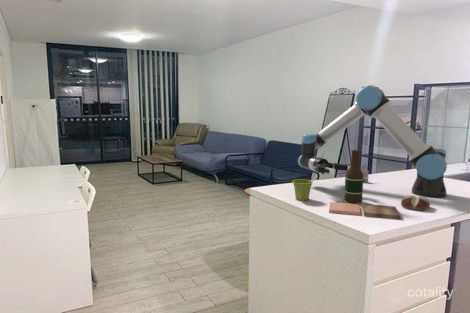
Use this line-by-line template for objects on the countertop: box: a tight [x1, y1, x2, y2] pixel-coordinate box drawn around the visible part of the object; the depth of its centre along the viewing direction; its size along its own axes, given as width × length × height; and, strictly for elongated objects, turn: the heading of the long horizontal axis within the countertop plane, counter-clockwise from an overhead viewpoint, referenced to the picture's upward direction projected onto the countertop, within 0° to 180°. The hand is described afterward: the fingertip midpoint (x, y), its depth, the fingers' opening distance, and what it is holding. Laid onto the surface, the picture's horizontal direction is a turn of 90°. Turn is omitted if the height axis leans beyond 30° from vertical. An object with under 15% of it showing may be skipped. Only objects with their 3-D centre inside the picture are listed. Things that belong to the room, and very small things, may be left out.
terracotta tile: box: [328, 201, 361, 216], centre depth 138 cm, size 12×12×1 cm
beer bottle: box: [343, 149, 364, 204], centre depth 150 cm, size 8×8×24 cm
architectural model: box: [361, 169, 369, 184], centre depth 193 cm, size 3×7×7 cm, turn 51°
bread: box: [400, 195, 431, 212], centre depth 142 cm, size 11×11×5 cm
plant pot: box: [292, 178, 314, 202], centre depth 155 cm, size 9×9×9 cm
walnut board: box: [361, 203, 401, 220], centre depth 134 cm, size 13×13×2 cm
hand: (346, 171), depth 154 cm, fingers open, 13 cm apart
